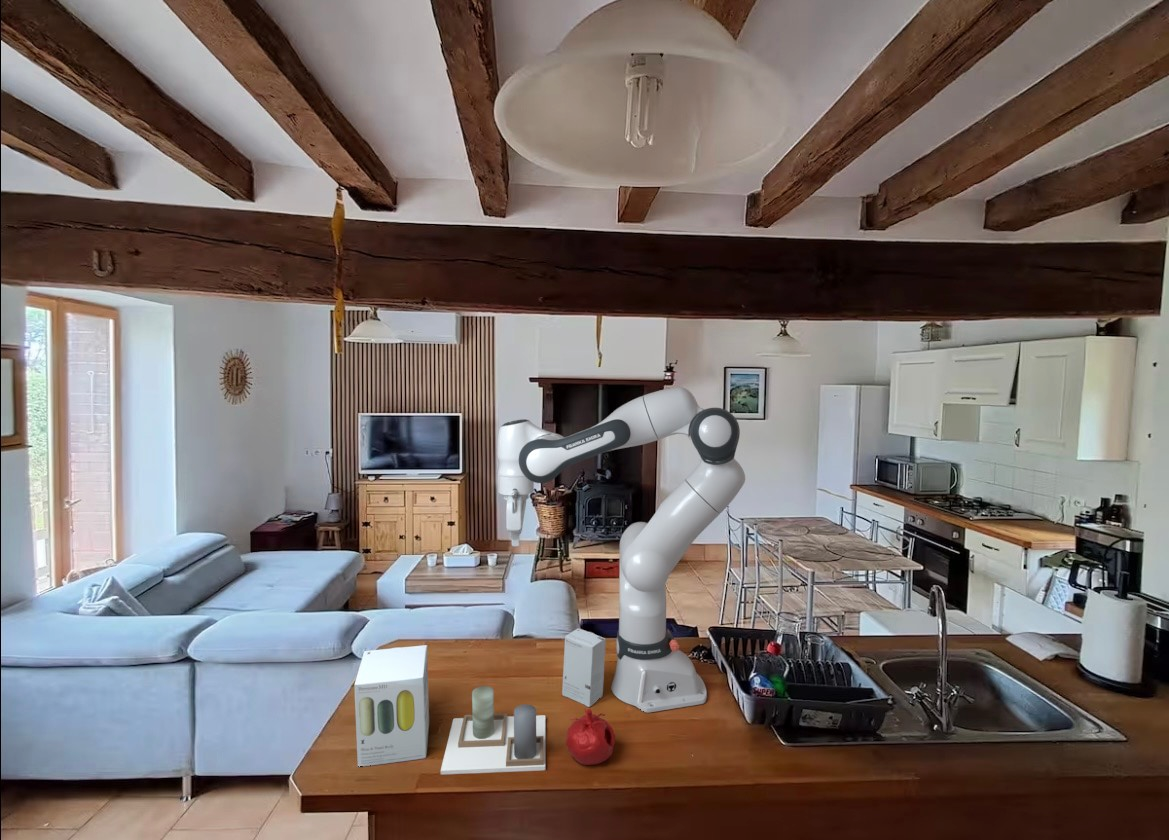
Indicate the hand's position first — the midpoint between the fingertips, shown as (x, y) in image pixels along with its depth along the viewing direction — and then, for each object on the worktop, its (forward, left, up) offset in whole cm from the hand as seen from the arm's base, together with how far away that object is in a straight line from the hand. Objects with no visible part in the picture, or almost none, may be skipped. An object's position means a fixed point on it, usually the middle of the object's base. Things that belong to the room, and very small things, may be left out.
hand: (516, 539), depth 146 cm
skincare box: (-16, +14, -34) cm, 40 cm away
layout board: (+3, +30, -34) cm, 45 cm away
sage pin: (+6, +27, -33) cm, 43 cm away
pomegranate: (-16, +34, -34) cm, 51 cm away
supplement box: (+24, +28, -34) cm, 50 cm away
